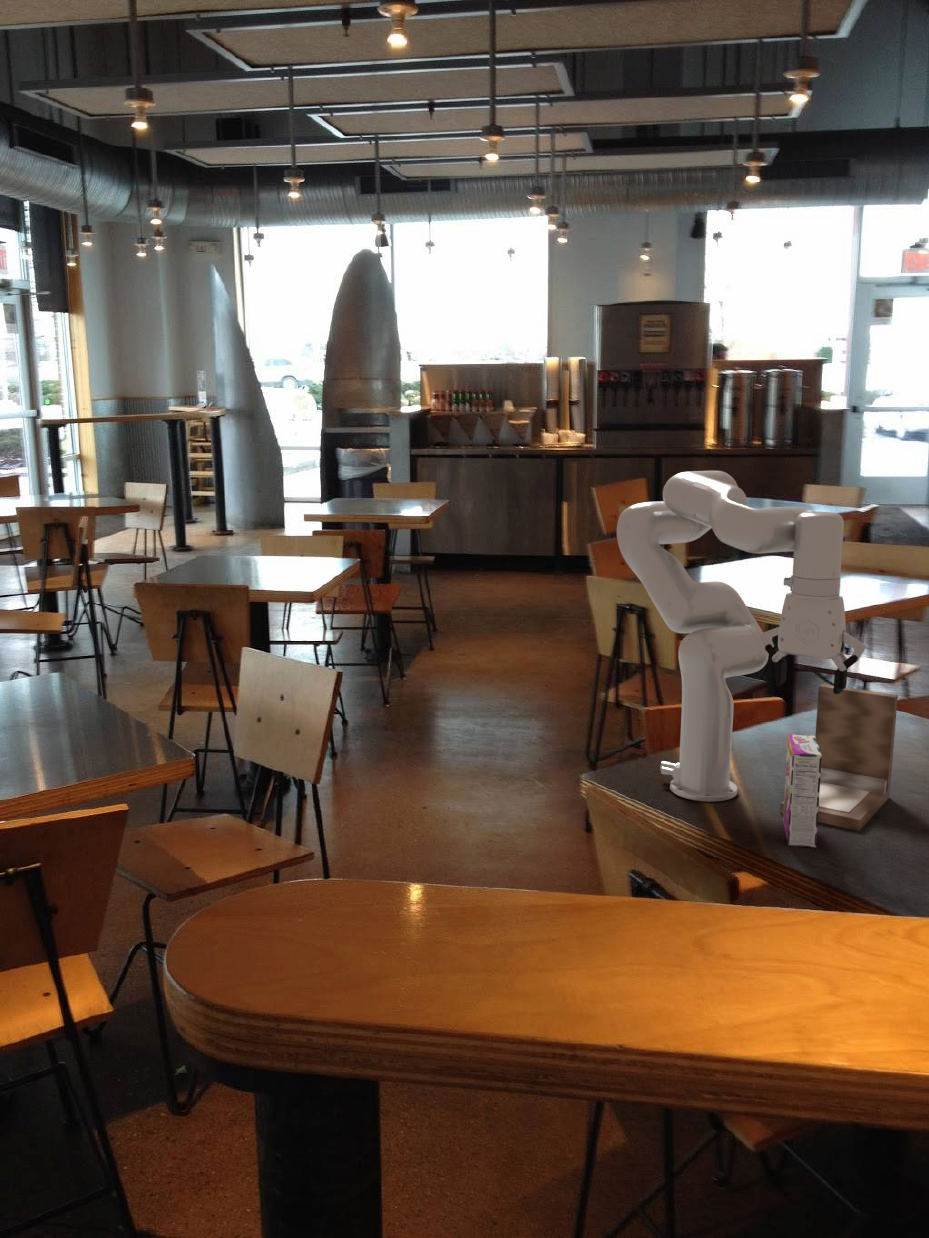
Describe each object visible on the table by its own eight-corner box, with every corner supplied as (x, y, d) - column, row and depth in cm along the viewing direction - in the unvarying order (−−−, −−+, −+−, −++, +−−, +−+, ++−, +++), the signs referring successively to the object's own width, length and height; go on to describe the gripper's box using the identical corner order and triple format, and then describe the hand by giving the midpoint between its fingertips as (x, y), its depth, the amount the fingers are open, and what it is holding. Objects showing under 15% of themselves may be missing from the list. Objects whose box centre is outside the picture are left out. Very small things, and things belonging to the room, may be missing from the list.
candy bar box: (780, 822, 196) (786, 733, 193) (810, 824, 195) (816, 734, 192) (785, 846, 185) (792, 752, 182) (817, 848, 184) (823, 754, 181)
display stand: (780, 813, 200) (787, 706, 196) (815, 783, 216) (822, 683, 212) (859, 830, 192) (867, 719, 188) (889, 797, 208) (897, 695, 204)
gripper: (756, 585, 184) (750, 685, 187) (863, 595, 174) (855, 701, 177) (772, 579, 190) (766, 676, 193) (875, 589, 180) (868, 691, 183)
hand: (809, 688), depth 185 cm, fingers open, 9 cm apart
